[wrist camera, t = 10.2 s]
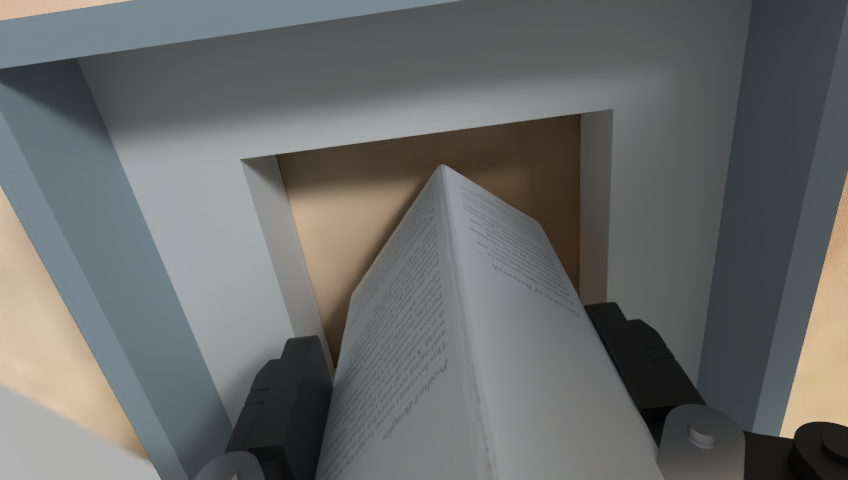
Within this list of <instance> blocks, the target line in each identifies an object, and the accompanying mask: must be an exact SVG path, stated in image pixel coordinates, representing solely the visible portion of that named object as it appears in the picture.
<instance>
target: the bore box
mask: <svg viewBox="0 0 848 480" xmlns="http://www.w3.org/2000/svg"><path fill="white" fill-rule="evenodd" d="M579 113H581V124H580V287H579V298H580V300H581V302H582V304H583V306H585V305H589V304H597V303H606V302H616V303H617V304H618V306H619V308H620V309H621V311H622V313H623V314H624V316H625V317H626V319H627V320H634V319H641V320H642V321H644V322H645V323H647V324H648V325H649V326H651V327H652V328H654V329H655V330H657V332H658V333H659V334H660V336H661V337H662V339H663V340H664V342H665V343H666V345H667V348H669V349H670V351H671V352H672V354H673V355H674V357H675V360H676V361H678V363H679V364H680V366H681V367H682V369H683V370H684V372H685V373H686V374H687V376H688V377H689V379H690V380H691V382H692V383H693V385H694V386H695V388H696V389H697V391H698V392H699V394H700V395H701V397H702V398H703V400H704V401H705V403H706V404H707V406H709V407H712V408H715V409H717V410H719V411H721V412H723V413H725V414H727V415H728V416H729V417H731V418H732V419H733V420H734V421H735V422H736V423H737V424H738V425H739V426H740V428H741V429H742V430H745V431H748V432H752V433H757V434H763V435H770V436H776V437H779V435H780V431H781V427H782V423H783V419H784V416H785V412H786V408H787V404H788V400H789V396H790V392H791V388H792V385H793V381H794V377H795V373H796V369H797V365H798V361H799V357H800V353H801V350H802V346H803V342H804V338H805V334H806V330H807V326H808V322H809V319H810V315H811V311H812V307H813V303H814V299H815V295H816V291H817V288H818V284H819V280H820V276H821V272H822V268H823V264H824V260H825V256H826V253H827V249H828V245H829V241H830V237H831V233H832V229H833V225H834V222H835V218H836V214H837V210H838V206H839V202H840V198H841V194H842V190H843V187H844V183H845V179H846V175H847V171H848V0H133V1H126V2H120V3H113V4H107V5H100V6H94V7H87V8H80V9H74V10H67V11H61V12H54V13H48V14H41V15H35V16H28V17H22V18H15V19H8V20H2V21H0V185H1V187H2V189H3V191H4V193H5V194H6V196H7V198H8V200H9V202H10V204H11V205H12V207H13V209H14V211H15V213H16V215H17V216H18V218H19V220H20V222H21V224H22V226H23V227H24V229H25V231H26V233H27V235H28V237H29V238H30V240H31V242H32V244H33V246H34V247H35V249H36V251H37V253H38V255H39V257H40V258H41V260H42V262H43V264H44V266H45V268H46V269H47V271H48V273H49V275H50V277H51V279H52V280H53V282H54V284H55V286H56V288H57V290H58V291H59V293H60V295H61V297H62V299H63V301H64V302H65V304H66V306H67V308H68V310H69V312H70V313H71V315H72V317H73V319H74V321H75V322H76V324H77V326H78V328H79V330H80V332H81V333H82V335H83V337H84V339H85V341H86V343H87V344H88V346H89V348H90V350H91V352H92V354H93V355H94V357H95V359H96V361H97V363H98V365H99V366H100V368H101V370H102V372H103V374H104V376H105V377H106V379H107V381H108V383H109V385H110V387H111V388H112V390H113V392H114V394H115V396H116V398H117V399H118V401H119V403H120V405H121V407H122V408H123V410H124V412H125V414H126V416H127V418H128V419H129V421H130V423H131V425H132V427H133V429H134V430H135V432H136V434H137V436H138V438H139V440H140V441H141V443H142V445H143V447H144V449H145V451H146V452H147V454H148V456H149V458H150V460H151V462H152V463H153V465H154V467H155V469H156V470H157V472H158V474H159V476H160V478H161V480H194V479H195V477H196V476H197V475H198V473H199V472H200V471H201V470H202V469H203V467H205V466H206V465H207V464H208V463H209V462H211V461H212V460H214V459H215V458H217V457H219V456H221V455H223V454H224V452H225V450H226V447H227V445H228V442H229V440H230V437H231V435H232V433H233V430H234V428H235V425H236V423H237V420H238V418H239V415H240V413H241V410H242V408H243V407H244V406H245V404H244V403H245V401H246V398H247V396H248V394H249V393H250V388H251V386H252V384H253V381H254V379H255V376H256V374H257V373H258V372H259V371H260V370H261V369H262V368H263V367H264V365H265V364H266V363H267V362H268V361H269V360H273V359H280V358H281V355H282V352H283V349H284V347H285V344H286V341H287V340H288V339H289V338H295V337H304V336H313V335H317V336H318V337H319V339H320V342H321V345H322V348H323V352H324V355H325V359H326V363H327V366H328V370H329V373H330V377H331V381H332V388H333V386H334V381H335V375H336V370H337V368H334V365H333V361H332V357H331V354H330V350H329V347H328V343H327V339H326V336H325V332H324V328H323V325H322V321H321V318H320V314H319V310H318V307H317V303H316V300H315V296H314V292H313V289H312V285H311V281H310V278H309V274H308V271H307V267H306V263H305V260H304V256H303V252H302V249H301V245H300V242H299V238H298V234H297V231H296V227H295V224H294V220H293V216H292V213H291V209H290V205H289V202H288V198H287V195H286V191H285V187H284V184H283V180H282V176H281V173H280V169H279V166H278V162H277V158H276V155H275V154H282V153H290V152H297V151H305V150H312V149H320V148H327V147H334V146H342V145H349V144H357V143H364V142H371V141H379V140H386V139H394V138H401V137H408V136H416V135H423V134H431V133H438V132H445V131H453V130H460V129H468V128H475V127H482V126H490V125H497V124H505V123H512V122H520V121H527V120H534V119H542V118H549V117H557V116H564V115H571V114H579Z"/></svg>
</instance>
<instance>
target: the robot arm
mask: <svg viewBox="0 0 848 480" xmlns="http://www.w3.org/2000/svg"><path fill="white" fill-rule="evenodd" d="M584 308H585V310H586V312H587V314H588V316H589V318H590V319H591V321H592V323H593V325H594V327H595V329H596V331H597V333H598V335H599V337H600V339H601V340H602V342H603V344H604V346H605V348H606V350H607V352H608V354H609V356H610V358H611V360H612V361H613V363H614V365H615V367H616V369H617V371H618V373H619V375H620V377H621V379H622V380H623V382H624V384H625V386H626V388H627V390H628V392H629V394H630V395H631V397H632V399H633V401H634V403H635V405H636V407H637V409H638V411H639V413H640V415H641V417H642V418H643V420H644V422H645V423H646V425H647V427H648V429H649V431H650V433H651V435H652V437H653V439H654V441H655V443H656V445H657V447H658V449H659V453H658V457H657V462H656V464H657V466H658V468H659V469H660V471H661V473H662V475H663V477H664V479H665V480H848V427H846V426H843V425H839V424H835V423H830V422H811V423H806V424H804V425H802V426H801V427H799V428H798V429H797V431H796V432H795V435H794V439H790V438H783V437H776V436H770V435H763V434H757V433H752V432H748V431H745V430H742V429H741V428H740V426H739V425H738V424H737V423H736V422H735V421H734V420H733V419H732V418H731V417H729V416H728V415H727V414H725V413H723V412H721V411H719V410H717V409H715V408H712V407H709V406H707V404H706V403H705V401H704V400H703V398H702V397H701V395H700V394H699V392H698V391H697V389H696V388H695V386H694V385H693V383H692V382H691V380H690V379H689V377H688V376H687V374H686V373H685V372H684V370H683V369H682V367H681V366H680V364H679V363H678V361H676V360H675V357H674V355H673V354H672V352H671V351H670V349H669V348H667V345H666V343H665V342H664V340H663V339H662V337H661V336H660V334H659V333H658V332H657V330H655V329H654V328H652V327H651V326H649V325H648V324H647V323H645V322H644V321H642V320H641V319H634V320H627V319H626V317H625V316H624V314H623V313H622V311H621V309H620V308H619V306H618V304H617V303H616V302H606V303H597V304H589V305H585V306H584ZM332 391H333V388H332V381H331V377H330V373H329V370H328V366H327V363H326V359H325V355H324V352H323V348H322V345H321V342H320V339H319V337H318V336H317V335H313V336H304V337H295V338H289V339H288V340H287V341H286V344H285V347H284V349H283V352H282V355H281V358H280V359H273V360H269V361H268V362H267V363H266V364H265V365H264V367H263V368H262V369H261V370H260V371H259V372H258V373H257V374H256V376H255V379H254V381H253V384H252V386H251V388H250V393H249V394H248V396H247V398H246V401H245V403H244V404H245V406H244V407H243V408H242V410H241V413H240V415H239V418H238V420H237V423H236V425H235V428H234V430H233V433H232V435H231V437H230V440H229V442H228V445H227V447H226V450H225V452H224V454H223V455H221V456H219V457H217V458H215V459H214V460H212V461H211V462H209V463H208V464H207V465H206V466H205V467H203V469H202V470H201V471H200V472H199V473H198V475H197V476H196V477H195V479H194V480H315V476H316V470H317V465H318V460H319V456H320V452H321V447H322V442H323V437H324V431H325V426H326V421H327V416H328V412H329V407H330V401H331V396H332Z"/></svg>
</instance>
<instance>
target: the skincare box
mask: <svg viewBox="0 0 848 480" xmlns="http://www.w3.org/2000/svg"><path fill="white" fill-rule="evenodd" d="M658 453H659V449H658V447H657V445H656V443H655V441H654V439H653V437H652V435H651V433H650V431H649V429H648V427H647V425H646V423H645V422H644V420H643V418H642V417H641V415H640V413H639V411H638V409H637V407H636V405H635V403H634V401H633V399H632V397H631V395H630V394H629V392H628V390H627V388H626V386H625V384H624V382H623V380H622V379H621V377H620V375H619V373H618V371H617V369H616V367H615V365H614V363H613V361H612V360H611V358H610V356H609V354H608V352H607V350H606V348H605V346H604V344H603V342H602V340H601V339H600V337H599V335H598V333H597V331H596V329H595V327H594V325H593V323H592V321H591V319H590V318H589V316H588V314H587V312H586V310H585V308H584V306H583V304H582V302H581V300H580V298H579V296H578V295H577V293H576V291H575V289H574V287H573V285H572V283H571V281H570V279H569V277H568V275H567V274H566V272H565V270H564V268H563V266H562V264H561V262H560V260H559V258H558V256H557V254H556V253H555V251H554V249H553V247H552V245H551V243H550V241H549V239H548V237H547V235H546V233H545V232H544V230H543V228H542V226H541V225H540V224H539V223H538V222H537V221H536V220H534V219H533V218H531V217H529V216H527V215H526V214H524V213H522V212H520V211H519V210H517V209H515V208H514V207H512V206H510V205H509V204H507V203H506V202H504V201H502V200H501V199H499V198H498V197H496V196H495V195H493V194H491V193H490V192H488V191H487V190H485V189H483V188H482V187H480V186H479V185H477V184H475V183H474V182H472V181H471V180H469V179H467V178H466V177H464V176H463V175H461V174H459V173H458V172H456V171H455V170H453V169H451V168H450V167H448V166H446V165H444V164H440V165H439V166H438V167H437V168H436V170H435V171H434V173H433V175H432V176H431V177H430V179H429V180H428V182H427V183H426V185H425V186H424V188H423V189H422V191H421V192H420V194H419V195H418V197H417V198H416V200H415V201H414V203H413V204H412V206H411V207H410V209H409V210H408V211H407V213H406V214H405V216H404V218H403V219H402V221H401V222H400V224H399V225H398V226H397V228H396V229H395V231H394V232H393V234H392V235H391V237H390V238H389V240H388V241H387V243H386V244H385V246H384V247H383V249H382V250H381V252H380V253H379V255H378V256H377V258H376V259H375V261H374V262H373V264H372V265H371V267H370V268H369V270H368V271H367V273H366V274H365V276H364V277H363V279H362V280H361V282H360V283H359V285H358V286H357V288H356V289H355V290H354V292H353V293H352V295H351V300H350V305H349V310H348V315H347V320H346V325H345V330H344V334H343V339H342V345H341V350H340V355H339V360H338V365H337V370H336V375H335V381H334V386H333V391H332V396H331V401H330V407H329V412H328V416H327V421H326V426H325V431H324V437H323V442H322V447H321V452H320V456H319V460H318V465H317V470H316V476H315V480H665V479H664V477H663V475H662V473H661V471H660V469H659V468H658V466H657V464H656V462H657V457H658Z"/></svg>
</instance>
